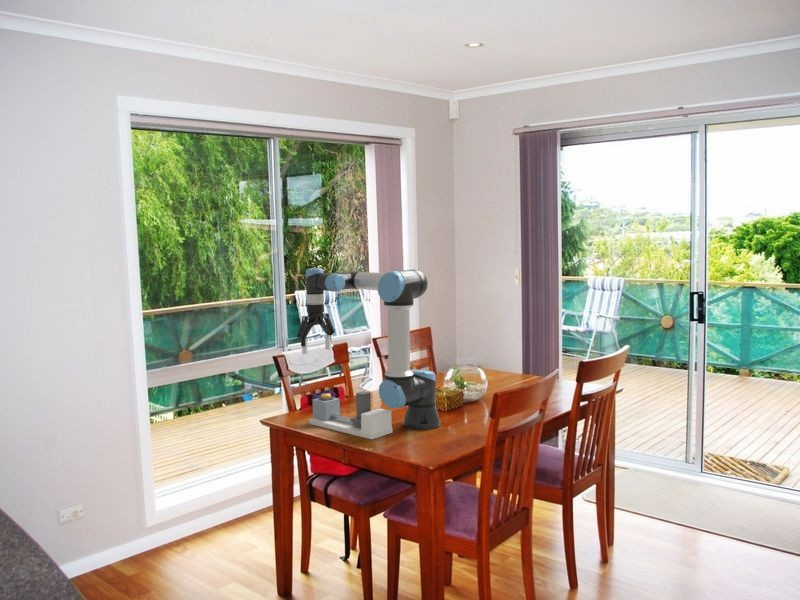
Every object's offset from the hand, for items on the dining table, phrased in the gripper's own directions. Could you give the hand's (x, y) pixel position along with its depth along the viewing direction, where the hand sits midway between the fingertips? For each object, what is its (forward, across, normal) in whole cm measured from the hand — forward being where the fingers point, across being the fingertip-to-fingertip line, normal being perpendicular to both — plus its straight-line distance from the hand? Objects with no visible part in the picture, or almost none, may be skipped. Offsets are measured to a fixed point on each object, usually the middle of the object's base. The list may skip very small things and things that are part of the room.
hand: (316, 351), depth 319 cm
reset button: (+21, +8, +15) cm, 27 cm away
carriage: (+25, +8, +37) cm, 45 cm away
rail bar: (+26, +8, +30) cm, 40 cm away
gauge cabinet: (+26, +8, +15) cm, 31 cm away
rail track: (+28, +8, +29) cm, 41 cm away
